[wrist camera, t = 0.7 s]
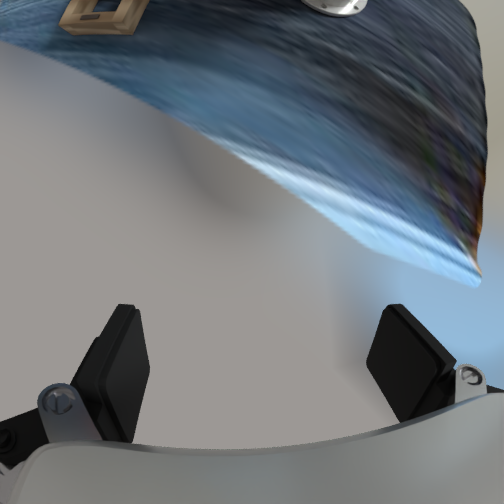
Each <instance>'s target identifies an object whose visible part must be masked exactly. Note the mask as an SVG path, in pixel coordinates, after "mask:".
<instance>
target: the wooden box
mask: <svg viewBox="0 0 504 504" xmlns="http://www.w3.org/2000/svg"><path fill="white" fill-rule="evenodd" d="M149 1H150V0H122V1H121V3H120V5H119V7H118V9H117V10H116V11H115V12H92V11H93V9H94V8H95V6H96V4H97V2H98V0H71V1H70V3H69V5H68V7H67V9H66V10H65V12H64V14H63V16H62V18H61V20H60V22H59V24H58V25H59V26H60V27H62V28H63V29H64V30H66V31H67V32H69V33H70V34H72V35H90V34H122V35H133V33H134V31H135V29H136V27H137V25H138V22H139V20H140V18H141V16H142V14H143V12H144V10H145V8H146V6H147V4H148V2H149Z"/></svg>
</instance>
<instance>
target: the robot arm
mask: <svg viewBox="0 0 504 504" xmlns="http://www.w3.org/2000/svg"><path fill="white" fill-rule="evenodd" d="M301 1H302V2H303V3H305V4H306V5H308V6H309V7H311V8H313V9H314V10H317V11H319V12H321V13H324V14H327V15H331V16H337V17H348V16H353V15H356V14H357V13H359V12H360V11H361V10H363V9H364V7H365V6H366V4H367V0H301ZM455 363H456V359H455V358H454V357H453V356H452V355H451V354H450V353H449V352H448V351H447V350H446V349H445V347H444V346H442V344H441V343H440V342H439V341H438V340H437V339H436V338H435V337H434V336H433V335H432V334H431V333H430V332H429V331H428V330H427V329H426V328H425V327H424V326H423V325H422V324H421V323H420V322H419V321H418V320H417V319H416V318H415V317H414V316H413V315H412V314H411V313H410V312H409V311H408V310H407V309H406V308H405V307H404V306H403V305H402V304H390V305H388V306H387V307H386V308H385V309H384V310H383V312H382V315H381V319H380V322H379V325H378V328H377V331H376V334H375V337H374V340H373V343H372V346H371V349H370V351H369V355H368V357H367V360H366V365H367V368H368V369H369V371H370V373H371V374H372V376H373V378H374V379H375V381H376V382H377V384H378V386H379V388H380V389H381V391H382V393H383V394H384V396H385V397H386V399H387V401H388V403H389V405H390V406H391V408H392V410H393V412H394V413H395V415H396V417H397V419H398V420H399V422H400V423H399V424H396V425H392V426H389V427H385V428H381V429H378V430H374V431H370V432H366V433H361V434H358V435H353V436H348V437H343V438H338V439H333V440H328V441H321V442H315V443H308V444H301V445H292V446H283V447H272V448H258V449H231V450H230V449H227V450H219V449H217V450H216V449H212V450H211V449H187V448H170V447H158V446H150V445H141V444H131V443H132V442H133V438H134V433H135V430H136V425H137V421H138V417H139V412H140V408H141V404H142V400H143V396H144V392H145V388H146V384H147V380H148V377H149V373H150V365H149V360H148V355H147V350H146V344H145V339H144V333H143V327H142V321H141V315H140V311H139V309H135V306H134V305H128V304H118V306H117V307H116V309H115V311H114V312H113V314H112V316H111V317H110V319H109V321H108V322H107V324H106V326H105V327H104V329H103V331H102V333H101V334H100V336H99V337H96V338H95V339H94V341H93V343H92V345H91V346H90V348H89V350H88V352H87V353H86V355H85V357H84V359H83V361H82V363H81V365H80V366H79V368H78V370H77V372H76V374H75V376H74V377H73V379H72V381H71V383H70V385H68V384H65V383H57V384H52V385H50V386H48V387H46V388H45V389H44V390H43V391H42V392H41V393H40V395H39V396H38V400H37V405H38V408H36V409H33V410H31V411H28V412H26V413H23V414H20V415H17V416H15V417H12V418H9V419H7V420H4V421H1V422H0V504H504V390H502V389H499V388H495V387H492V386H489V385H486V379H485V376H484V374H483V372H482V371H481V370H480V369H478V368H477V367H475V366H473V365H470V364H462V365H460V366H458V367H457V369H456V371H455V370H454V369H453V367H454V365H455Z"/></svg>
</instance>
